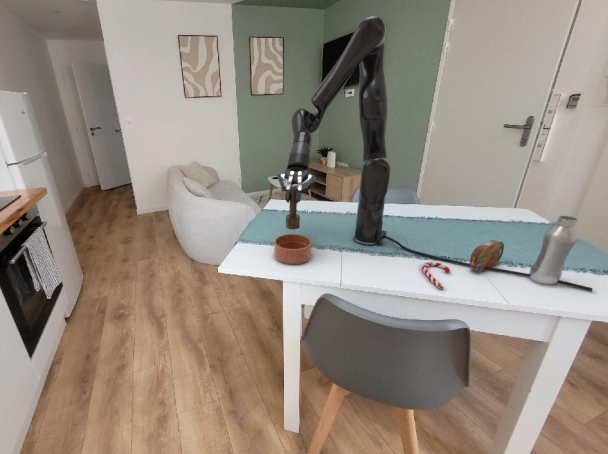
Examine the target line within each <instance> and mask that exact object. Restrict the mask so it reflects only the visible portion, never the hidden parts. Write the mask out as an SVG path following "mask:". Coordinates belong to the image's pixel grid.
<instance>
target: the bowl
mask: <svg viewBox="0 0 608 454" xmlns="http://www.w3.org/2000/svg"><path fill="white" fill-rule="evenodd" d="M312 244H313V243H312V240H311V238H310V237H308V236H306V235H302V234H298V233H286V234H281V235H278V236H277V237H275V238H274V240H273V256H274V258H275V259H276V260H277V261H279V262H281V263H283V264H286V265H300V264H303V263H306V262H308V261H309V260H310V259H311V257H312Z"/></svg>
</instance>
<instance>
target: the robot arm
mask: <svg viewBox="0 0 608 454" xmlns="http://www.w3.org/2000/svg"><path fill="white" fill-rule="evenodd" d="M386 36H387V26H386V23H385V21H384V19H383V18H381V17H380V16H378V15H369V16H367V17H365V18H363V19H362V20H361V21H359V23H358V24H357V26H356V28H355V30H354V31H353V33H352V35H351V38H350V39H349V41H348V42H347V44H346V46H345V48H344V49H343V52H342V54H341V55H340V56H339V58H338V59H337V61H336V63H335V64H334V65H333V67H332V68H331V70H330V71H329V72H328V74H327V75H326V77H325V78H324V79H323V80H322V82H321V83H320V85H319V86H318V87H317V89H316V90H315V91H314V93H313V94H312V95H311V97H310V104H311V105H312V106H313V107H314V108H315V111H314V113H313V112H311V111H310V110H308V109H307V108H305V107H299V108H296V109H295V111H294V112H293V114H292V115H291V121H290V123H291V124H290V125H291V132H292V141H291V147H290V150H289V154H288V159H287V165H286V170H284V173H278V174H277V175H276V177H277V180H278V182H279V185H280V188H281V191H282V192H285V195H284V199H285V201H286V203H289V204H290V188H291V187H294V185H297V193H296V199H295V202H296V203H297V204H299V203H300V202H301V199H302V194H303V193H305V194H307V193H308V192H309V190H310V189H311V188H312V187H313V185H314V184H315V182H316V175H314V174H310V172H309V171H310V163H311V158H312V147H313V134H315V132H317V131H318V129H319V127H320V125H321V124H322V121H323V119H324V116H325V114H326V112H327V111H328V109H329V107H330V106H331V105H332V103H333V102H334V101H335V99H336V98H337V97H338V95H339V94H340V93H341V91H342V90H343V89H344V87H345V86H346V84H347V82H348V80H349V78H350V77H351V76H352V75H353V73H354V72H355V70H356V69H357V67H358V66H359V82H358V90H357V91H358V92H357V93H358V94H357V110H358V120H359V127H360V132H361V137H362V144H363V145H362V146H363V149H362V151H363V153H362V165H361V177H360V187H359V192H358V200H357V201H358V203H357V209H356V210H357V211H356V220H355V228H354V237H353V240H354V241H355V242H356V243H358V244H360V245H364V246H376V245H381V242H383V241H384V240H385V239H386V240H389V241H390V242H392V243H395V244H396V245H397V246H398V247H400V248H401V249H403V250H405V251H406V252H410V253H413V254H416V255H420V256H424V257H428V258H431V259H435V260H439V261H443V262H447V263H451V264H457V265H462V266H467V267H470V266H469V264H470V262H464V261H458V260H455V259H449V258H445V257H441V256H436V255H434V254H429V253H426V252H423V251H422V252H421V251H418V250H415V249H411V248H408V247H407V246H404V245H403V244H402V243H400V241H398V240H396V239H394V238H392V237H389V236H387V230H383V226H384V225H383V224H384V220H383V219H384V213H385V211H384V210H385V204H386V198H387V194H388V191H389V190H388V189H389V183H390V177H391V165H390V163H389V160H388V154H387V146H386V135H387V128H388V119H389V97H388V86H387V80H386V73H385V68H384V65H385V64H384V61H385V43H386ZM285 178H286V180H287V184H286V185H285V182H284V181H285ZM304 183H305V184H304ZM303 184H304V186H303ZM485 269H487V270H488V271H492V272H493V271H494V272H499V273H505V274H511V275H517V276H522V277H528V278H531V277H530V275H529V273H527V272H526V273H525V272H521V271H515V270H510V269H503V268H497V267H485ZM487 270H486V271H487ZM557 284H561V285H565V286H569V287H573V288H577V289H581V290H586V291H588V292H589V291H590V292H592V291H593V290H594V289H593V287H591V286H586V285H581V284H578V283H573V282H569V281H565V280H561V279H560V280H559V281H558V282H557Z"/></svg>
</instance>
